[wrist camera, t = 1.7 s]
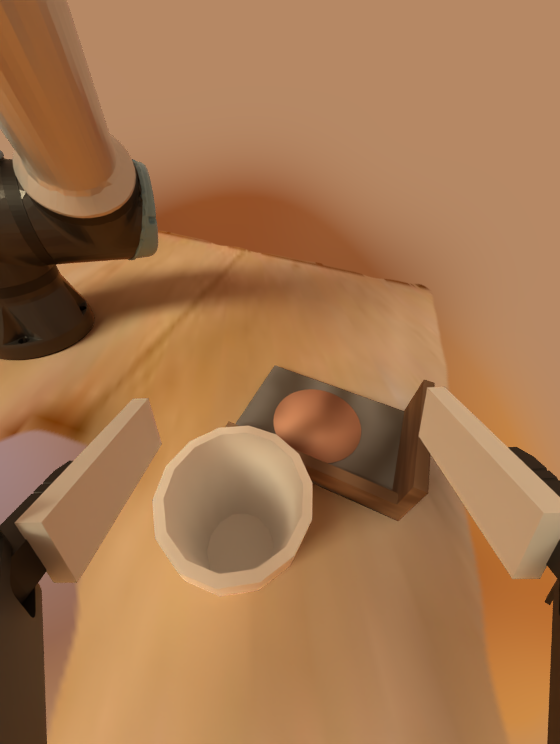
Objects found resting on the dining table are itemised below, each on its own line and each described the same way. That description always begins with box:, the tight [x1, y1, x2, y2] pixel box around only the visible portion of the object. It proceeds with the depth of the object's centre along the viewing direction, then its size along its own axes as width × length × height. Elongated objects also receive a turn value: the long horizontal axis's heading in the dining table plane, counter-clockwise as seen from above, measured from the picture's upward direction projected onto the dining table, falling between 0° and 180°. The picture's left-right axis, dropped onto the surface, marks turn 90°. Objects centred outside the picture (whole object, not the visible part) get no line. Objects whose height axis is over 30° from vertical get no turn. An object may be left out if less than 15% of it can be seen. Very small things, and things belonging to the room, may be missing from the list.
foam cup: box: [152, 426, 312, 596], centre depth 22 cm, size 10×9×13 cm
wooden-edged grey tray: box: [226, 366, 434, 521], centre depth 34 cm, size 20×14×7 cm
